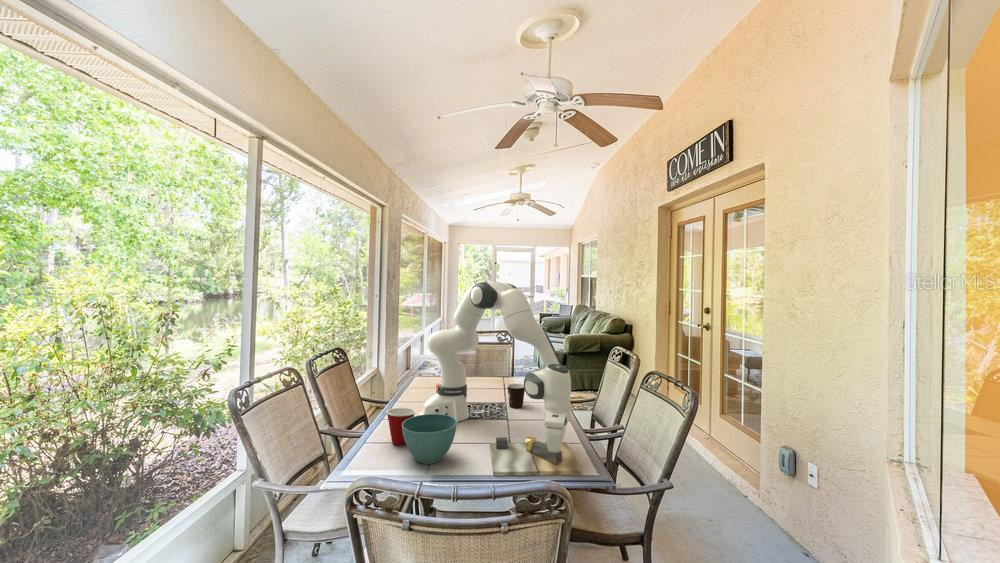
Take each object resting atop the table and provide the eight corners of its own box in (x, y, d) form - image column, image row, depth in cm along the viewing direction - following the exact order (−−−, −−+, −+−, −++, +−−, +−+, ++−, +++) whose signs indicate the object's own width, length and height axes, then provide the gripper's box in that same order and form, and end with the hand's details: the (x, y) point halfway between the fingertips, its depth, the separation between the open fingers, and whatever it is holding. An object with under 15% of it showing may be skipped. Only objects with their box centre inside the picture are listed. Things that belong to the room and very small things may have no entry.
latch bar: (523, 449, 140) (523, 438, 140) (531, 447, 143) (531, 435, 143) (555, 464, 129) (555, 452, 129) (562, 461, 131) (562, 449, 131)
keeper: (496, 449, 141) (496, 440, 141) (495, 445, 144) (496, 437, 144) (507, 449, 141) (507, 440, 141) (507, 445, 144) (507, 437, 144)
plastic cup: (421, 440, 151) (421, 408, 151) (402, 450, 141) (403, 416, 141) (398, 434, 156) (399, 404, 156) (379, 444, 146) (379, 412, 146)
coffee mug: (523, 410, 188) (523, 388, 188) (505, 408, 190) (505, 387, 190) (526, 402, 200) (527, 382, 200) (509, 401, 201) (510, 381, 201)
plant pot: (407, 475, 124) (407, 435, 124) (397, 452, 140) (398, 417, 140) (463, 465, 131) (463, 428, 131) (447, 444, 148) (448, 411, 148)
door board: (493, 475, 124) (493, 471, 124) (490, 446, 146) (490, 443, 146) (582, 474, 126) (582, 470, 126) (565, 445, 148) (565, 442, 148)
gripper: (552, 403, 146) (552, 441, 146) (543, 422, 126) (543, 466, 126) (570, 405, 144) (569, 443, 144) (563, 424, 124) (563, 469, 124)
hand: (557, 454), depth 135 cm, fingers closed
